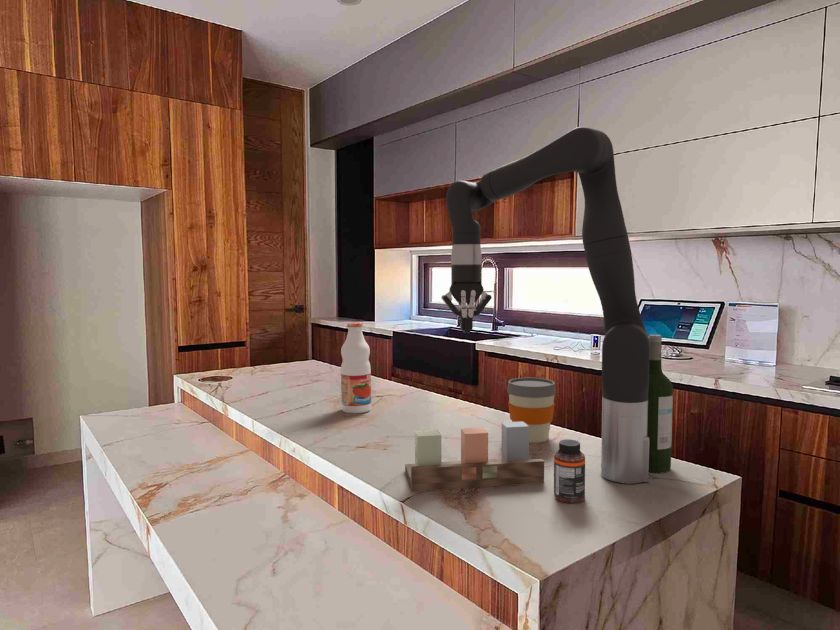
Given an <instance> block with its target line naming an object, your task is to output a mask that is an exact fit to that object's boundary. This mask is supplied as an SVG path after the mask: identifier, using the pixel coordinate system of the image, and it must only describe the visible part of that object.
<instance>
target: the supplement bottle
mask: <svg viewBox="0 0 840 630" xmlns="http://www.w3.org/2000/svg"><path fill="white" fill-rule="evenodd" d="M558 442H559V443H558V450H557V451H555V453H554V454H553V495H554V498H555V499H556V500H558V501H559V502H562V503H567V504H577V503H581V502H583V501H584V500H585V498H586V496H585V495H586V455H585V454H584V453H583V452H582V451H581V442H580V441H578V440H576V439H567V438H565V439H561V440H559V441H558Z"/></svg>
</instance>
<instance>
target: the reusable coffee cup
mask: <svg viewBox="0 0 840 630" xmlns="http://www.w3.org/2000/svg"><path fill="white" fill-rule="evenodd" d="M507 393H508V398H509V401H508V411H509V419H510V420H511V422H521V421H523V422H524V423H526V424H527V425H528V426H529V444H536V443H537V444H539V443H544V442H547V441H548V440H549V436H550V428H551V422H553V420H554V418H553V417H554V411H555V402H554V400H555V395H556V394H557V392H556V383H555V381H554V380H551V379H548V378H540V377H518V378H517V377H516V378H511V379H510V380H508V383H507Z"/></svg>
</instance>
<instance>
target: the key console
mask: <svg viewBox="0 0 840 630" xmlns="http://www.w3.org/2000/svg"><path fill="white" fill-rule="evenodd" d="M404 470H405V473H406V477H407V481H408V483H409V486H410V489H411V492H423V491H424V492H425V491H439V490H440V491H441V490H457V489H471V488H483V487H484V488H485V487H486V488H487V487H499V486H501V487H502V486H515V485H518V486H519V485H529V484H530V485H532V484H544V483H545V460H544V459H543V458H536V459H533V458H532V459H529V460H515V461H501V458H491V459H489V458H488V462H481V463H464V464H461V460H455V461H441V465H430V466H415V463H406V464H404Z"/></svg>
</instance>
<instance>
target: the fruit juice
mask: <svg viewBox="0 0 840 630" xmlns="http://www.w3.org/2000/svg"><path fill="white" fill-rule="evenodd" d="M363 327H364V324H363V322H357V321H356V322H355V321H354V322H353V321H352V322H348V323H347V324H346V328H347V330H348V331H347V335H346V339H345V341H344V343H343V344H342V346H341V349H340V354H341V358H342V363H341V365H340V378H341V379H340V381H341V382H340V385H341V386H340V387H341V410H342V412H343V413H347V414H362V413H363V414H364V413H367V412H370V411H371V410H372V377H371V376H372V372H371V371H372V368H371V367H372V366H371V362H370V360H369V359H370V353H371V350H370V349H371V348H370V346H369V344H368V343H367V340H366V339H365V336H364V334H363Z"/></svg>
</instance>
